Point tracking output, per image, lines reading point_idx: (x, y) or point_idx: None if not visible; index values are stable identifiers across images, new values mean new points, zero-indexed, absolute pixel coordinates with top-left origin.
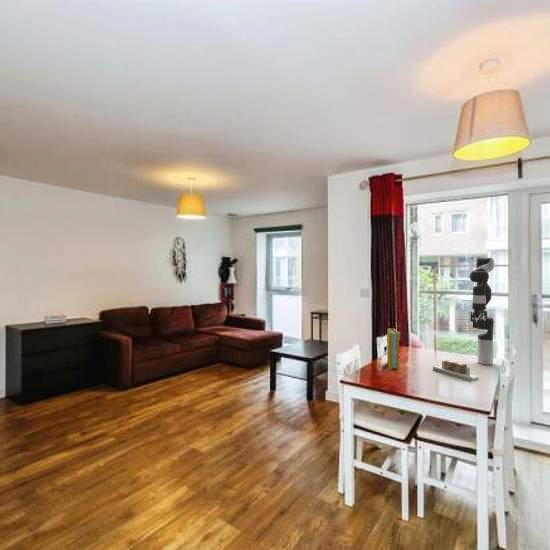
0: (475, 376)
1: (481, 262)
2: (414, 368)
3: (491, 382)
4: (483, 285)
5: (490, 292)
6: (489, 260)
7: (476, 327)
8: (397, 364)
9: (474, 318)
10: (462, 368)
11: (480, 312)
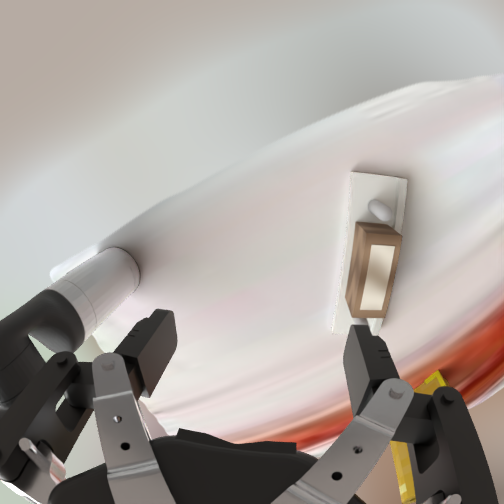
0: (362, 180)
1: None
2: (398, 364)
3: (349, 119)
4: None
5: None
6: None
7: (362, 327)
8: (445, 383)
9: (467, 428)
10: (393, 231)
11: None
